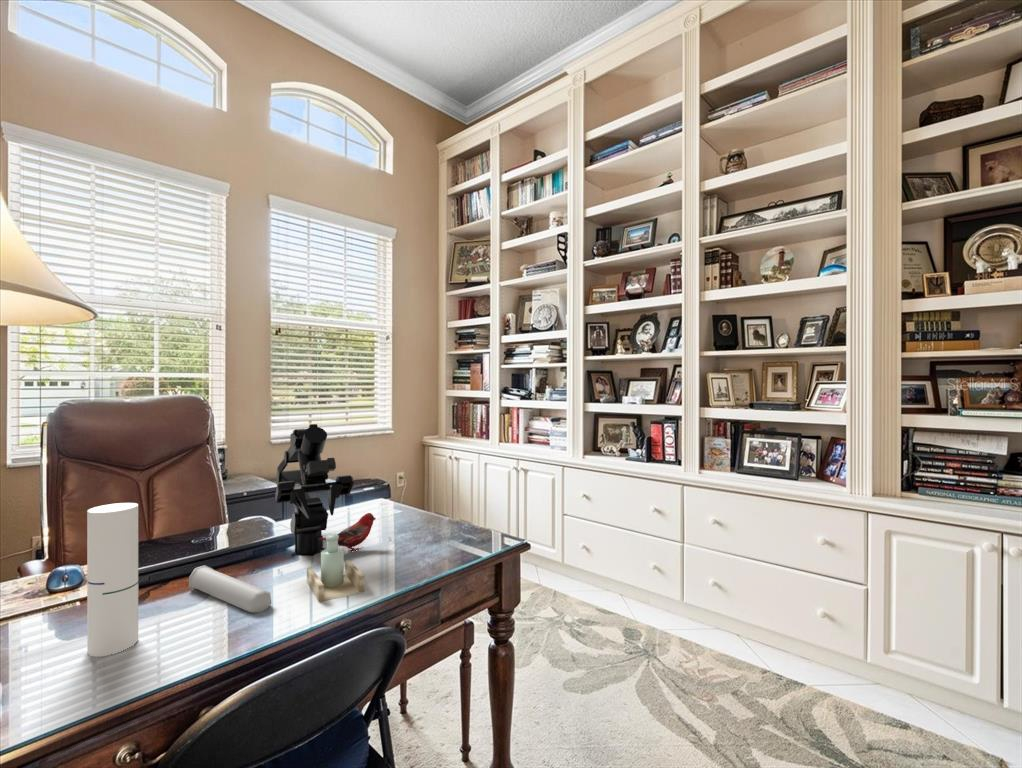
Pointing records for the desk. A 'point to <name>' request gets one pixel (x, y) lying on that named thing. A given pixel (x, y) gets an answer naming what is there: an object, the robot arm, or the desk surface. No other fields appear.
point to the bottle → (332, 563)
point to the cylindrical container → (112, 578)
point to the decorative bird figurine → (355, 533)
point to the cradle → (350, 586)
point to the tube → (230, 589)
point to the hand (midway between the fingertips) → (320, 516)
